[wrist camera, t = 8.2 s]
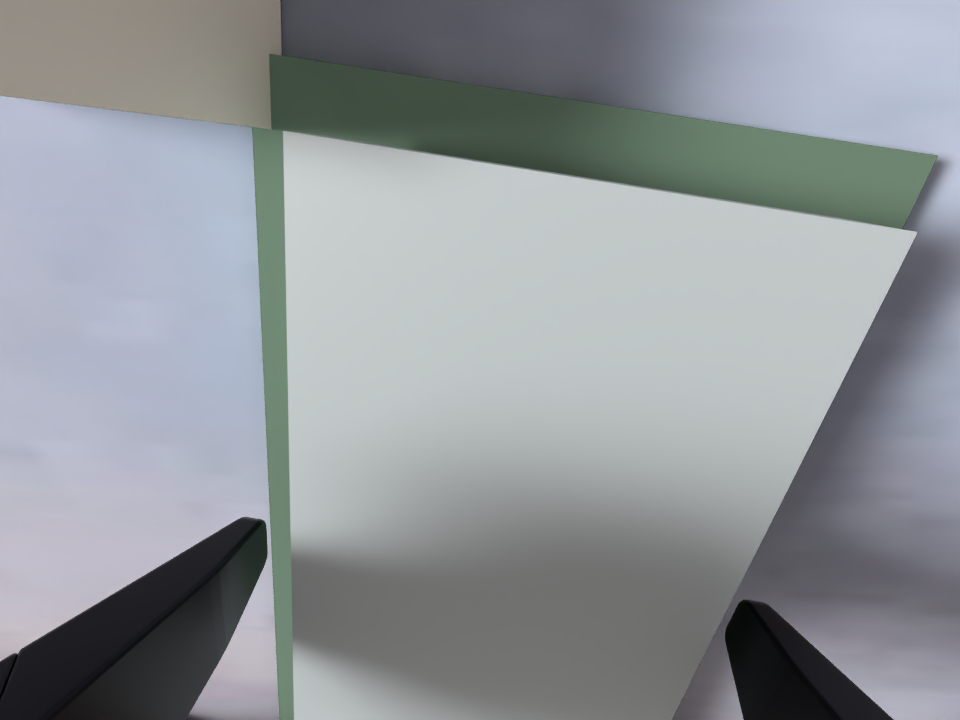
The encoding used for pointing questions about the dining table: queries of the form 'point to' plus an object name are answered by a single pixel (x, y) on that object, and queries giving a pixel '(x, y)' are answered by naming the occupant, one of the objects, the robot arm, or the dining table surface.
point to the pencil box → (144, 56)
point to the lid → (541, 425)
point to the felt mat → (542, 146)
